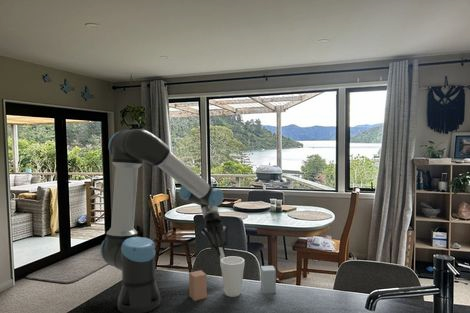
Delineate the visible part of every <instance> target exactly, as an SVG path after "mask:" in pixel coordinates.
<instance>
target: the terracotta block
mask: <svg viewBox="0 0 470 313" xmlns="http://www.w3.org/2000/svg"><path fill="white" fill-rule="evenodd" d="M207 279H208V277H207V273H205V272H204V271H203V270H201V269H200V270H195V271H191V272H188V280H189V281H188V284H189V287H188V288H189V289H188V290H189V294H188V295H189V297H190V298H191V299H192V300H193V301H194V302H196V301H199V300H200V301H201V300H204V299H206V298H208V297H207V294H208V292H207V290H208V289H207V286H208V285H207Z"/></svg>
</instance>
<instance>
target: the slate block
mask: <svg viewBox="0 0 470 313" xmlns="http://www.w3.org/2000/svg"><path fill="white" fill-rule="evenodd" d="M276 272H277V271H276V268H275V266H274V265H261V266H260V289H261V291H262V294H276V293H277V286H276V284H277V281H276V279H277V278H276V277H277V276H276V275H277V274H276Z"/></svg>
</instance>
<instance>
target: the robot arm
mask: <svg viewBox="0 0 470 313" xmlns="http://www.w3.org/2000/svg"><path fill="white" fill-rule="evenodd" d="M107 147H108V150H109V154H110V155H111V163H112V165H113V166H114V167H115V173H114V183H113V185H114V187H113V199H112V200H113V201H112V210H111V212H112V213H111V224H110V225H111V226H110V228H109V230H107V231H106V234H105V235H106V236H105V238H104V240H103V241H102V242H101V244H100V248H99V250H100V257H101V258H102V259H103V261H104V262H105V263H107V264H108V265H109V266H112V267H114V268H116V269H118V270H119V271H121V274H122V275H121V276H122V277H121V278H122V279H121V280H122V281H121V283H122V286H121V288H120V292H119V296H118V298H117V310H118V311H119V312H120V313H147V312H151V311H153V310H155V309H156V308H158V307H159V306H160V304H161V300H162V299H161V293H160V290H159V287H158V285H157V282H156V252H157V251H156V246H155V243H154V240H152V239H150V238H148V237H141V236H138V231H137V230H136V229H135V228H134V227H135V215H136V205H137V204H136V201H137V187H138V176H139V175H138V174H139V168H140V167H141V166H142V165H143V162H146V163H148V164H150V165H151V166H153V167H158V168H160V170H162V171H163V172H164V173H165V174H167V175H168V176H169V177H170V178H172V179H173V180H175V181H176V182H177V183H179V184H180V185H181V187H180V188H179V193H178V195H179V197H180V199H182V200H184V201H186V202H190V203H193V204H195V205H198V206H200V209H201V213H202V216H203V217H202V218H203V221H204V225H205V227H204V228H202V229H201V231H200V232H201V234H202V235H203V237H204V238H205V240H206V242H207V245H208V246H209V248H210V250H211V251H212V250H214V252H216V253H215V254H216V257H219V261H220V260H221V259H222V258H224V257H225V256H226V254H227V252H226V249H227V247H228V245H229V242H228V237H229V236H228V234H229V233H228V230H229V226H227V225H226V226H225V225H224V224H223V223H222V219H221V217H220V213H219V210H218V207H219V206H220V205H221V204H222V203H223V202H224V193H223V190H221V189H218V188H216V187H215V188H214V187H212V186H211V184H209V183H208V182H206V181H205V180H204V179H203V178H202V177H201V176H199V174H197V173H196V172H195V171H194V170H193V169H191V167H189V166H188V165H187V164H185V162H183V161H182V160H181V159H180V158H179V157H177V156H176V154H174V153H173V152H172V151H171V148H170V146H169V145H168V144H166V143H165V142H164V141H163V140H162V139H160V137H158V136H156V135H155V134H154V133H152V132H150V131H148V130H146V129H143V128H135V129H123V130H120V131H117V132H115V133H114V134H113V135H112V136H110V138H109V141H108V146H107ZM222 231H223V236H222Z"/></svg>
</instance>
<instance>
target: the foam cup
mask: <svg viewBox="0 0 470 313" xmlns="http://www.w3.org/2000/svg"><path fill="white" fill-rule="evenodd" d="M245 262H246V261H245V259H244V258H243V257H240V256H236V255H235V256H226V257H224V258H222V259H221V260H220V259H219V263H220V264H219V266H220V269H221V278H222V283H223V292H224V295H225V296H227V297H232V298H233V297H234V298H235V297H238V296H240V295H241V294H242V293H241V292H242V286H243V278H244V270H245V267H246V266H245Z"/></svg>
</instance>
